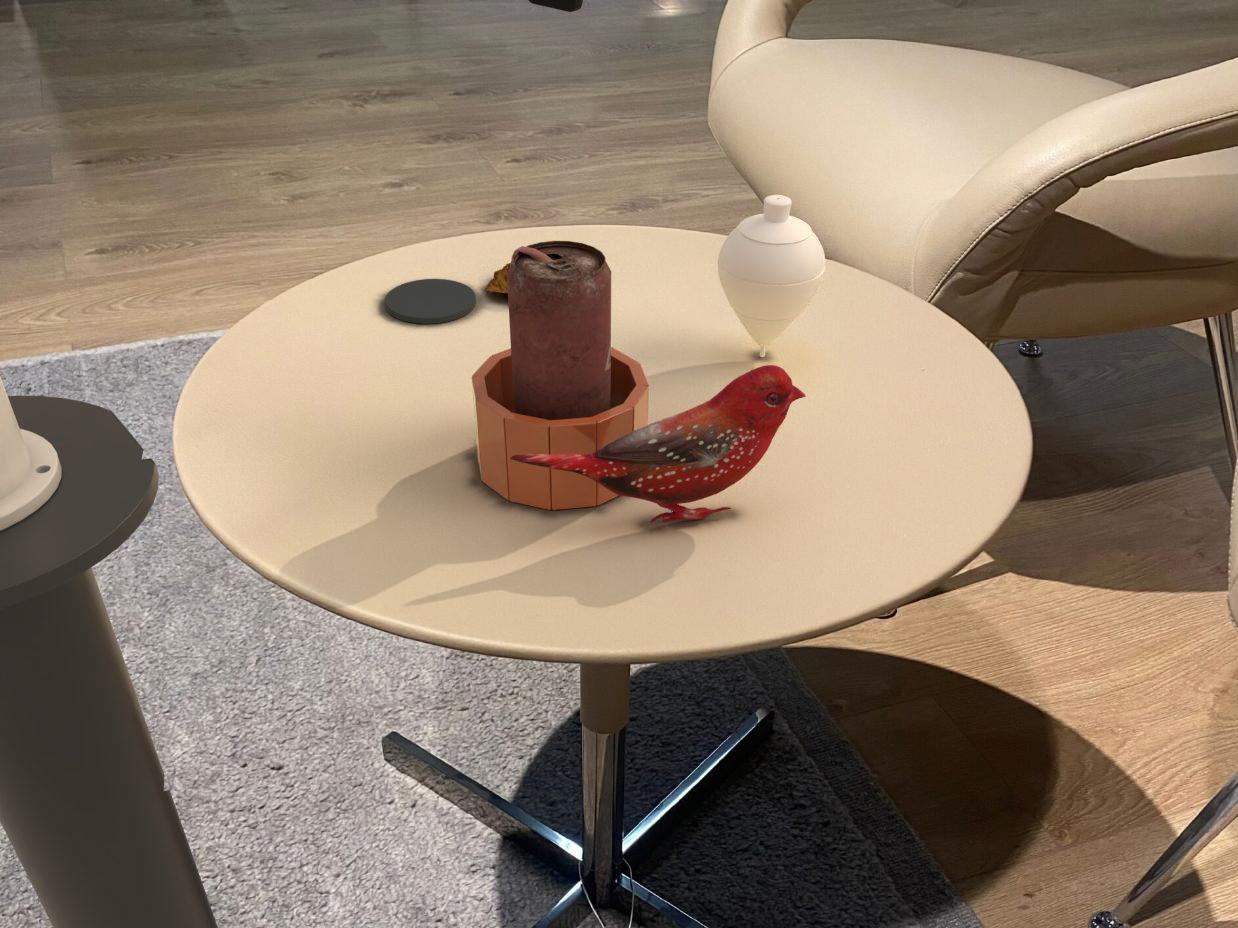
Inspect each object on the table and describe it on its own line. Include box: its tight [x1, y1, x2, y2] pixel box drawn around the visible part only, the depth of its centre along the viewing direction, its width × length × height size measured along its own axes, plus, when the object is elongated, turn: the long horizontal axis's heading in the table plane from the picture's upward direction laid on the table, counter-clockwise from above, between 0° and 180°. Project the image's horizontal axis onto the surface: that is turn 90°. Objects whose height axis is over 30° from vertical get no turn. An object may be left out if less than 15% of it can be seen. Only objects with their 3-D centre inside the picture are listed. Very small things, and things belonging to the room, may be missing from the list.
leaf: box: [484, 259, 512, 295], centre depth 97 cm, size 6×7×2 cm
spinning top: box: [717, 194, 826, 358], centre depth 86 cm, size 8×8×12 cm
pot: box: [471, 346, 650, 511], centre depth 76 cm, size 11×11×6 cm
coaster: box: [384, 278, 477, 325], centre depth 95 cm, size 7×7×1 cm
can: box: [507, 240, 612, 420], centre depth 73 cm, size 6×6×14 cm
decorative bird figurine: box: [510, 364, 807, 523], centre depth 70 cm, size 3×18×10 cm, turn 105°
